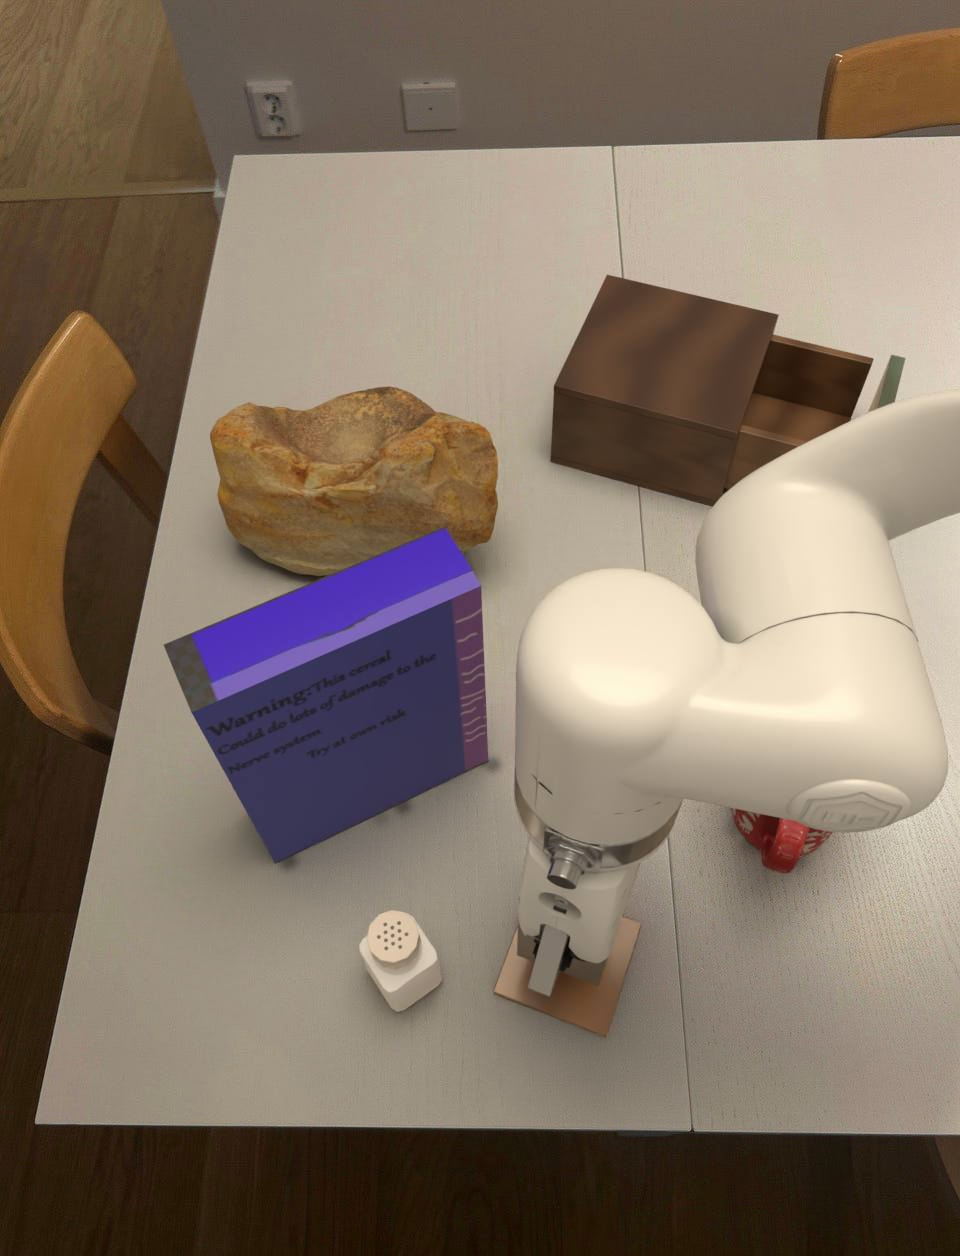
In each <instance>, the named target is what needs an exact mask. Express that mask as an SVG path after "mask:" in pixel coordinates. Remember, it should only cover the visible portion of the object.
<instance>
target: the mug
mask: <svg viewBox="0 0 960 1256" xmlns="http://www.w3.org/2000/svg"><path fill="white" fill-rule="evenodd" d="M732 814H733V819H734V821H735V824H736V826H737V828H738V830H739V832H740V833H741V835H742V836H743V837H744V838H745V839H746V841H747V842H749V844H751V845H752V846H753V847H755V848H756V849H758V850H760V861H761V865H763V867H764V868H766V869H768V870H770V871H773V872H776V873H780V874H786V875H788V874H790V873H792V872H793V870H794V869H795V867H796V866H797V865H798V862H799V860H800V859H801V857H804V856H806V855H807V856H808V855H810V854H811V853H813V852H815V851H816V850H818V849H819V848H820V847H821V846H822V845H823V844H824V843H825V842H826V841H827V840H828V839H829V838H830V837H831V835H832V834H833V832H829V831H823V830H817V829H813V828H810V827H807V826H805V825H803V824H801V823H799V822H797V821H793V820H788V819H783V818H779V817H774V816H769V815H763V814H759V813H754V812H749V811H744V810H739V809H735V808H732Z"/></svg>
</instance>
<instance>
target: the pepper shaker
mask: <svg viewBox="0 0 960 1256" xmlns="http://www.w3.org/2000/svg"><path fill="white" fill-rule="evenodd" d="M358 949H359V954H360V956H361V958H362V961H363V963H364V965H365V967H366V970H367V972H368V975H369V976H370V977H371V979H372V980H373V982H374V983H375V985H376V986H377V988H378V990H379V991H380V993H381V995H382V996H383V998H384V1000H385V1001H386V1003H387V1004H388V1005H389V1007H390V1009H392V1010H393V1011H395V1012H396V1013H399V1012H404V1011H405V1010H407V1009H408V1008H409V1007H411V1006H412V1005H414V1004H415V1003H417V1002H418V1001H419V1000H421V999H422V998H423V997H425V996H427V995H428V994H429V993H430V992H431V991H433V990H435V989H436V988H437V987H439V985H440V984H441V982H442V981H443V975H442V971H441V967H440V961H439V957H438V953H437V950H436V948H435V947H434V946H433V943H431V941H430V939H429V938H428V936H427V935H426V934H425V932H424V930H423V929H422V928H421V926H420V924H419V923H418V922H417V920H416V919H415V917H414V916H412V915H411V914H410V913H407V912H405V911H400V910H396V909H395V910H394V909H390V910H387V911H385V912H382V913H379V914H378V915H376V917H375V918H374V919H373V920H372V921H371V923H370V924H369V925H368V930H367V934H366V936H364V937H363V938H362V940H361V941H360V943H359V944H358Z"/></svg>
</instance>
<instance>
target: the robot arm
mask: <svg viewBox="0 0 960 1256" xmlns="http://www.w3.org/2000/svg"><path fill="white" fill-rule="evenodd" d="M957 514H960V388H955V389H946V390H939V391H934V392H928V393H922V394H919V395H915V396H911V397H908V398H905V399H901V400H897V401H895V402H894V403H891V404H888V405H886V406H883V407H881V408H878V409H876V410H873V411H870V412H868V411H867V412H866V413H864V414H861V415H860V416H858V417H855V418H853V419H851V421H849V422H847V423H845V424H843V425H841V426H839V427H837V428H835V429H833V430H831V431H829V432H827V433H825V434H823V435H821V436H819V437H817V438H815V439H813V440H811V441H809V442H807V443H805V444H803V445H801V446H799V447H797V448H795V449H793V450H791V451H789V452H787V453H786V454H784V455H782V456H780V457H778V458H776V459H775V460H773V461H771V462H769V463H767V464H766V465H764V466H762V467H760V468H759V469H757V470H755V471H754V472H752V473H750V474H749V475H748V476H746V477H745V478H743V479H742V480H741V481H739V482H738V483H737V484H736V485H734V486H733V487H732V488H731V489H727V491H726V492H724V493H723V496H722V497H720V498H719V500H718V501H717V502H716V503H715V505H714V506H711V508H710V510H708V512H707V513H706V515H705V517H704V519H703V521H702V523H701V526H700V529H699V532H698V534H697V537H696V543H695V554H694V555H695V556H694V557H695V558H694V559H695V560H694V563H695V570H696V571H695V572H696V578H697V580H696V581H697V586H698V592H699V598H700V602H699V601H698V600H697V599H696V598H695V597H694V596H693V595H692V594H691V593H689V592H688V591H687V590H686V589H684V588H682V587H681V586H680V585H678V584H677V583H675V582H673V581H671V580H669V579H667V578H665V577H663V576H661V575H657V574H655V573H652V572H650V571H645V570H640V569H636V568H629V567H627V568H626V567H611V568H598V569H595V570H590V571H585V572H581V573H579V574H577V575H575V576H572V577H570V578H568V579H566V580H565V581H562V582H561V583H559V584H558V585H557V586H555V587H553V588H552V589H551V590H550V591H548V592H547V593H546V594H545V596H543V597H542V599H541V600H540V601H539V602H538V603H537V604H536V605H535V607H534V608H533V610H532V611H531V613H530V615H529V616H528V618H527V619H526V621H525V623H524V626H523V628H522V630H521V634H520V637H519V640H518V645H517V653H516V663H515V668H516V669H515V721H514V722H515V727H514V728H515V729H514V733H515V734H514V782H513V785H514V786H513V797H514V798H513V799H514V804H515V809H516V814H517V817H518V819H519V821H520V824H521V826H522V828H523V829H524V831H525V833H526V835H527V836H528V839H527V844H526V849H525V850H526V851H525V854H524V856H523V870H522V873H521V875H522V876H521V881H520V882H521V883H520V891H519V896H520V898H519V897H518V906H519V909H517V911H518V912H517V916H518V917H517V920H518V919H519V925H520V928H521V930H522V932H523V933H524V935H525V936H526V937H528V935H529V936H531V937H533V936H534V942H535V943H536V945H535V948H534V951H533V954H534V955H535V957H534V958H535V963H534V966H533V970H532V973H531V977H530V981H529V984H528V988H527V989H529V990H532V991H534V992H537V993H539V994H542V995H545V996H547V997H550V996H551V993H552V990H553V988H554V985H555V983H556V980H557V977H558V974H559V971H562V972H564V971H565V970H566V968H567V967H568V968H570V965H571V961H572V959H573V958H575V959H577V960H580V961H584V962H586V961H589V962H593V963H600V962H602V961H604V960H605V959H606V958H607V957H608V956H609V954H610V952H611V949H612V946H613V944H614V941H615V938H616V935H617V932H618V929H619V926H620V923H621V920H622V917H623V916H624V914H625V912H626V907H627V905H628V902H629V900H630V897H631V894H632V891H633V887H634V884H635V881H636V878H637V875H638V872H639V869H640V866H641V863H642V862H644V861H645V860H647V859H649V858H650V857H651V856H652V855H653V854H655V853H656V852H657V851H658V850H659V849H660V848H661V847H662V845H664V843H665V842H666V840H667V839H668V838H669V835H670V834H671V832H672V831H673V829H674V826H675V823H676V820H677V818H678V815H679V812H680V810H681V807H682V803H683V801H684V800H689V801H694V802H699V803H700V802H701V803H706V804H710V805H711V804H712V805H716V806H722V807H725V808H730V809H733V808H735V809H739V810H744V811H749V812H754V813H759V814H763V815H769V816H774V817H779V818H783V819H788V820H793V821H797V822H799V823H801V824H803V825H805V826H807V827H810V828H813V829H817V830H823V831H829V832H832V833H860V832H868V831H874V830H877V829H883V828H885V827H888V826H891V825H894V824H895V823H897V822H900V821H902V820H905V819H908V818H911V817H913V816H915V815H917V814H919V813H921V812H922V811H924V810H925V809H927V808H928V807H929V806H930V805H932V803H934V802H935V800H936V799H937V797H938V796H939V795H940V793H941V792H942V790H943V788H944V786H945V784H946V780H947V777H948V772H949V749H948V743H947V739H946V733H945V728H944V725H943V722H942V718H941V714H940V711H939V708H938V704H937V700H936V698H935V695H934V691H933V688H932V684H931V680H930V678H929V675H928V671H927V667H926V664H925V661H924V658H923V655H922V651H921V648H920V644H919V638H918V635H917V632H916V628H915V625H914V621H913V618H912V615H911V612H910V609H909V606H908V602H907V599H906V595H905V593H904V589H903V588H904V587H903V585H902V583H901V579H900V575H899V572H898V568H897V565H896V561H895V557H894V553H893V551H892V547H891V544H890V541H891V540H893V539H896V538H898V537H900V536H903V535H906V534H907V533H910V532H913V531H915V530H917V529H920V528H922V527H924V526H926V525H929V524H932V523H934V522H937V521H940V520H942V519H944V518H947V517H951V516H954V515H957Z"/></svg>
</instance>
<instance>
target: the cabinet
mask: <svg viewBox="0 0 960 1256" xmlns="http://www.w3.org/2000/svg"><path fill="white" fill-rule="evenodd" d="M779 315H780V314H778V313H773V312H769V311H767V310H766V311H765V310H762V309H757V308H752V307H748V306H745V305H744V306H743V305H739V304H735V303H731V302H726V301H722V300H717V299H713V298H710V297H705V296H701V295H697V294H694V293H693V294H692V293H688V292H683V291H679V290H675V289H671V288H667V287H662V286H658V285H654V284H649V283H646V282H641V281H637V280H632V279H628V278H623V277H619V276H615V275H611V274H606V276H605V278H604V280H603V282H602V284H601V286H600V288H599V290H598V292H597V294H596V296H595V299H594V301H593V303H592V305H591V307H590V309H589V311H588V313H587V315H586V316H585V320H584V322H583V324H582V325H581V328H580V330H579V332H578V334H577V336H576V338H575V340H574V342H573V344H572V347H571V348H570V350H569V353H568V355H567V358H566V360H565V361H564V363H563V365H562V367H561V369H560V372H559V374H558V375H557V378H556V380H555V382H554V384H553V396H552V397H553V401H552V419H551V420H552V422H551V426H552V427H551V440H550V447H551V448H550V462H551V463H554V464H558V465H560V466H561V465H562V466H565V467H569V468H572V469H575V470H580V471H583V472H587V473H590V474H593V475H598V476H601V477H605V478H609V479H612V480H616V481H620V482H623V483H627V484H629V485H634V486H638V487H641V488H645V489H649V490H652V491H656V492H660V493H663V494H667V495H671V496H674V497H678V498H682V499H685V500H689V501H692V502H696V503H699V504H703V505H706V506H711V507H713V506H714V505H715V503H716V502H717V501H718V500H719V498H720V497H722V496H723V495H724V494H725V490H726V488H724V487H725V483H726V479H727V475H728V472H729V468H730V464H731V460H732V456H733V453H734V449H735V445H736V441H737V438H738V434H739V431H740V428H741V425H742V422H743V419H744V416H745V413H746V410H747V407H748V404H749V402H750V399H751V396H752V393H753V390H754V387H755V384H756V381H757V378H758V375H759V372H760V369H761V367H762V364H763V361H764V358H765V355H766V352H767V349H768V346H769V343H770V340H771V337H772V335H775V334H774V333H775V330H776V326H777V324H778V320H779Z"/></svg>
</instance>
